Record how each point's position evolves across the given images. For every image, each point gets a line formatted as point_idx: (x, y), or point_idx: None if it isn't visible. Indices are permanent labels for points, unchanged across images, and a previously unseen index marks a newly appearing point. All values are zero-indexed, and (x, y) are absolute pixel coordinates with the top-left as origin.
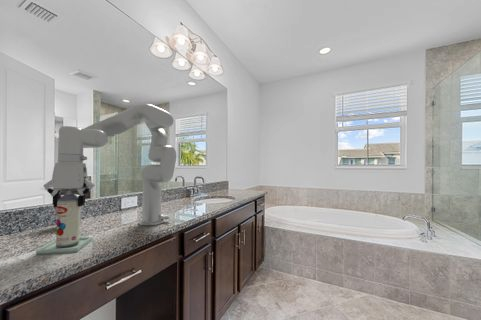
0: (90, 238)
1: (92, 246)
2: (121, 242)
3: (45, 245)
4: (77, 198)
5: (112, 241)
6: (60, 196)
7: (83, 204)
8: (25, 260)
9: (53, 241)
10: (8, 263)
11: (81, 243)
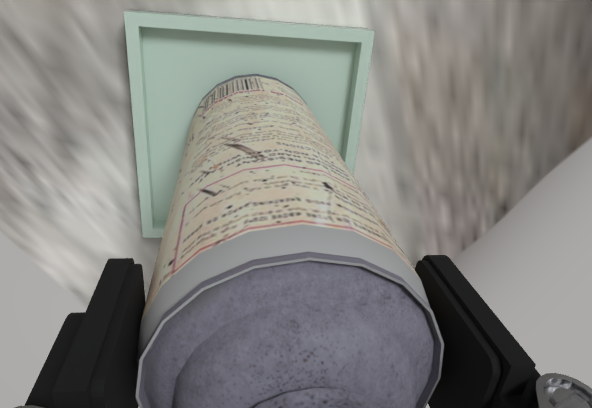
0: (368, 70)
1: (391, 156)
2: (536, 124)
3: (136, 160)
4: (420, 391)
5: (489, 91)
6: (110, 382)
7: (442, 262)
8: (143, 277)
9: (136, 84)
10: (88, 295)
11: (325, 120)
